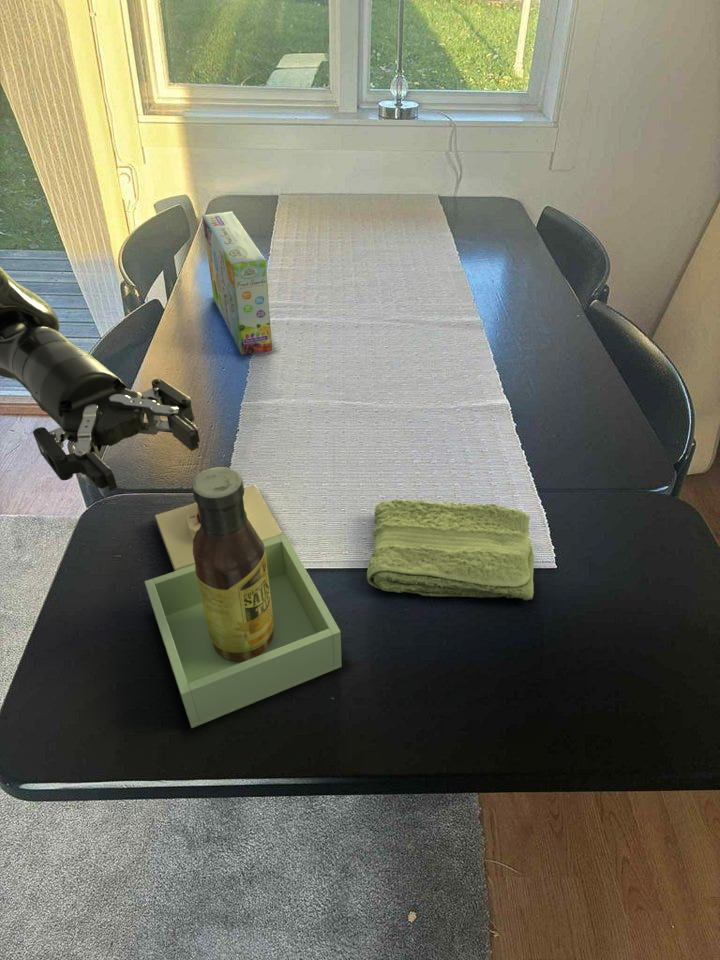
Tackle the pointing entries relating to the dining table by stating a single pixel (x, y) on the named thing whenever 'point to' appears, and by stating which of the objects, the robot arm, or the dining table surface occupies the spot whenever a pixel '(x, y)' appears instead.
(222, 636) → the sauce bottle
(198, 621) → the sage green tray
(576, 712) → the dining table surface
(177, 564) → the panel
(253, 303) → the snack box
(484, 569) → the washcloth
